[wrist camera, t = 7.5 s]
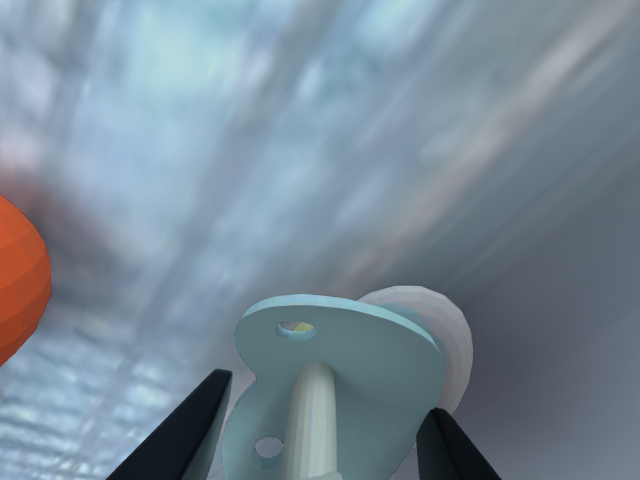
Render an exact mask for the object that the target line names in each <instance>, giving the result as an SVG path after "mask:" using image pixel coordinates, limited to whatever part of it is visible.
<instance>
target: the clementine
mask: <svg viewBox="0 0 640 480" xmlns="http://www.w3.org/2000/svg"><path fill="white" fill-rule="evenodd" d="M50 295H51V261H50V257H49V254H48V251H47V248H46V244H45V242H44V241H43V239H42V237H41V236H40V234H39V232H38V231H37V229H36V227H35V226H34V225H33V224H32V223H31V222H30V220H29V219H28V218H27V217H26V216H25V215H24V214H23V213H22V212H21V211H20V210H19V209H18V208H17V207H16V206H14V205H13V204H12V203H10V202H9V201H8V200H7V199H5V198H4V197H3V196H2V195H0V367H1V366H2V365H3V364H4V363H5V362H6V361H7V360H8V359H9V358H10V357H11V356H13V355H14V354H15V353H16V352H17V350H18V349H19V348H20V347H21V346H22V345H23V344H24V343H25V341H26V340H27V339H28V338H29V337H30V336H31V335H32V334H33V332H34V331H35V330H36V328H37V326H38V323H39V321H40V319H41V316H42V314H43V312H44V310H45V307H46V305H47V302H48V300H49V297H50Z"/></svg>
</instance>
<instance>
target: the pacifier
mask: <svg viewBox="0 0 640 480" xmlns="http://www.w3.org/2000/svg"><path fill="white" fill-rule="evenodd" d="M289 321H298V322H301V323H300V324H299V325H297V326H296V328H295V329H294V330H293V331H290V330H287V329H284V328H282V327H281V326H280V325H279V324H280V323H283V322H289ZM433 340H434V341H433ZM235 342H236V347H237V349H238V351H239V354H240V356H241V357H242V359H243V360H244V362H245V363H246V365H247V366H248V367H249V368H250V369H251V371H253V372H254V373H255V375H256V381H254V382H253V383H252V384H251V385H250V386H249V387H248V388H247V389H246V390H245V391H244V392H243V394H242V395H241V397H240V398H239V399H238V401H237V402H236V404H235V406H234V408H233V410H232V412H231V414H230V416H229V419H228V421H227V423H226V427H225V431H224V434H223V439H222V455H221V456H222V463H223V469H224V474H225V477H226V479H227V480H388V479H389V478H390V476H391V475H392V474H393V473H394V472H395V471H396V469H397V468H398V467H399V465H400V464H401V463H402V461H403V460H404V458H405V457H406V456H407V454H408V453H409V452H410V450H411V449H413V448H414V447H416V446H417V444H416V434H417V432H418V430H419V428H420V426H421V424H422V423H423V421H424V419H425V417H426V416H427V414H428V413H429V411H430V410H431V409H434V408H435V407H438V408H443V409H445V410H446V411H448V413H449V414H450V415H451V414H452V413H453V412H454V410H455V409H456V407H457V406H458V405H459V403H460V401H461V399H462V396H463V394H464V392H465V390H466V388H467V385H468V383H469V380H470V374H471V369H472V363H473V345H472V335H471V330H470V328H469V326H468V324H467V322H466V319H465V317H464V315H463V313H462V311H461V310H460V309H459V308H458V307H457V306H456V305H455V304H454V303H452V302H451V301H450V300H449V299H448V298H447V297H446V296H445V295H442V294H440V293H437V292H435V291H432V290H429V289H427V288H424V287H421V286H392V287H389V288H385V289H382V290H378V291H375V292H371V293H369V294H367V295H365V296H364V297H362V298H360V299H358V300H357V301H354V300H350V299H346V298H338V297H329V296H320V295H309V294H295V295H285V296H275V297H271V298H268V299H265V300H262V301H259V302H257V303H256V304H254V305H253V306H251V307H250V308H249V309H248V310H247V311H246V312H245V314H244V315H243V317H242V319H241V320H240V322H239V323H238V325H237V328H236V331H235ZM271 436H272V437H276V438H278V439H280V440H281V441H282V442H283V444H284V447H283V450H282V452H281V453H280V454H278V455H277V456H275V457H272V458H263V457H261V456H260V455H258V453H257V452H256V450H255V447H254V446H255V445H256V443H257V442H258V441H260V440H261V439H263V438H265V437H271Z"/></svg>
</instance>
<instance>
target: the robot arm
mask: <svg viewBox="0 0 640 480" xmlns="http://www.w3.org/2000/svg"><path fill="white" fill-rule="evenodd" d="M232 376H233V373H232V372H231V371H229V370H223V369H215V370H214V371H213V372H211V373H210V374H209V376H208V377H207V378H206V379H205V380H204V381H203V382H202V383H201V384H200V385H199V386H198V387H197V388H196V389H195V390H194V391H193V392H192V393H191V394H190V395H189V396H188V397H187V398H186V399H185V400H184V401H183V402H182V403H181V404H180V405H179V406H178V407H177V408H176V409H175V410H174V411H173V412H172V413H171V414H170V415H169V416H168V417H167V418H166V419H165V420H164V421H163V422H162V423H161V424H160V425H159V426H158V427H157V428H156V429H155V430H154V431H153V432H152V433H151V434H150V435H149V436H148V437H147V438H146V439H145V440H144V441H143V442H142V443H141V444H140V445H139V446H138V447H137V448H136V449H135V450H134V451H133V452H132V453H131V454H130V455H129V456H128V457H127V458H126V459H125V460H124V461H123V462H122V463H121V464H120V465H119V466H118V467H117V468H116V469H115V470H114V471H113V472H112V473H111V474H110V475H109V476H108V477H107V478H106V479H105V480H206V478H207V476H208V473H209V470H210V466H211V463H212V460H213V456H214V453H215V449H216V445H217V442H218V438H219V435H220V431H221V428H222V424H223V420H224V417H225V413H226V410H227V406H228V402H229V398H230V392H231V384H232ZM416 444H417V456H418V467H419V479H420V480H502V479H501V478H500V477H499V476H498V474H497V473H496V472H495V471H494V469H493V468H492V467H491V465H490V464H489V463H488V462H487V460H486V459H485V458H484V457H483V455H482V454H481V453H480V452H479V450H478V449H477V448H476V447H475V445H474V444H473V443H472V442H471V440H470V439H469V438H468V436H467V435H466V434H465V433H464V431H463V430H462V429H461V428H460V426H459V425H458V424H457V423H456V421H455V420H454V419H453V418H452V416H451V415H450V414H449V413H448V411H446V410H445V409H443V408H438V407H435V408H434V409H431V410H430V411H429V413H428V414H427V416H426V417H425V419H424V421H423V423H422V424H421V426H420V428H419V430H418V432H417V434H416Z"/></svg>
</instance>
